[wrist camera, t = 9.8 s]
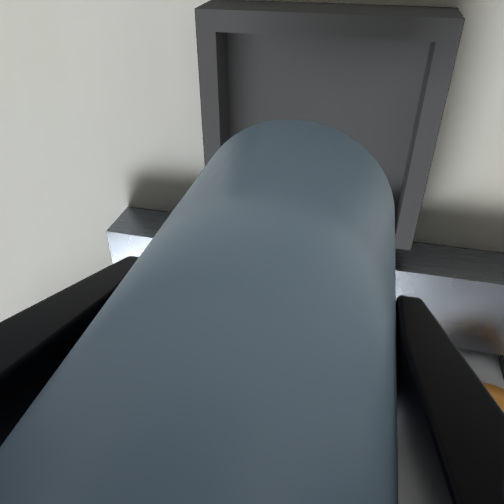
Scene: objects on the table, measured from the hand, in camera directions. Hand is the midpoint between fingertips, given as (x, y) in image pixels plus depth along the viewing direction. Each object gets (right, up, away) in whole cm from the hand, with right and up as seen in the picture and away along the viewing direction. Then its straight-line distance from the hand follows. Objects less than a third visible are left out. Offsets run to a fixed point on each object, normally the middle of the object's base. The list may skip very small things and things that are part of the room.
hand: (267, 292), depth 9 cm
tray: (+2, +5, +7) cm, 9 cm away
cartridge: (+1, +2, +2) cm, 3 cm away
